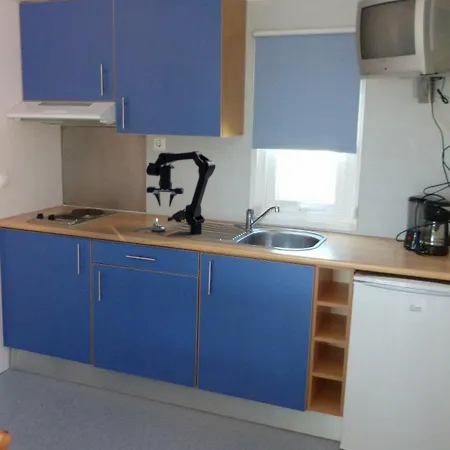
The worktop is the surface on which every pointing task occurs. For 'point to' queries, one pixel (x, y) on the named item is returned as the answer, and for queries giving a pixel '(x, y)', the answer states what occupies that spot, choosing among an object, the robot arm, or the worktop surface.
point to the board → (145, 228)
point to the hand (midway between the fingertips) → (164, 206)
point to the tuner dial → (157, 226)
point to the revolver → (178, 216)
